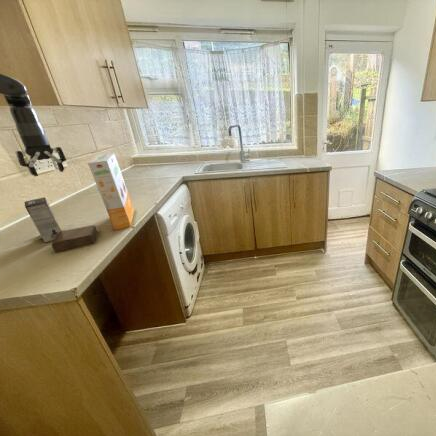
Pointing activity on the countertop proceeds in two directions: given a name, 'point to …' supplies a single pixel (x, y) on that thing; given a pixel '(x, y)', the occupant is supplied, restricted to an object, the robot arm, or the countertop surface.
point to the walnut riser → (75, 238)
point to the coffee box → (43, 218)
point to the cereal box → (112, 189)
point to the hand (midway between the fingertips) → (49, 173)
